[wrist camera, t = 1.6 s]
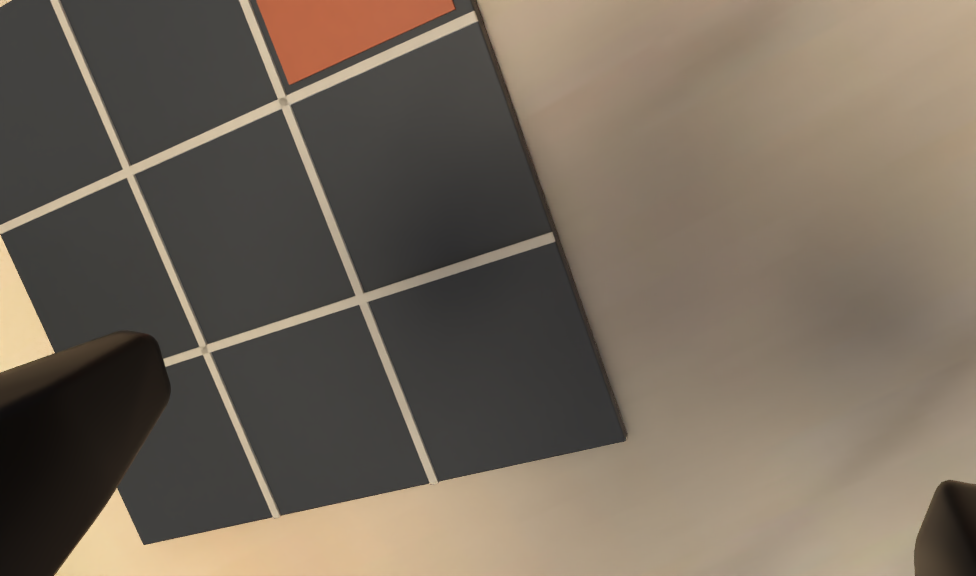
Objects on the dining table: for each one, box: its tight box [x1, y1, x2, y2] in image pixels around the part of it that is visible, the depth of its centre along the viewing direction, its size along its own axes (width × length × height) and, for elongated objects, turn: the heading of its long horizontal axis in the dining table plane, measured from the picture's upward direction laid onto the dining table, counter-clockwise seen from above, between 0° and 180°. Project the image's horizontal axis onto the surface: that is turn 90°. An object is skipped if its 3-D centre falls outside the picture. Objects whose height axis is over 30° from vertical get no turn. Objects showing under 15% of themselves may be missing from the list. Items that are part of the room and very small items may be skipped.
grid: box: [0, 0, 627, 545], centre depth 26 cm, size 20×20×1 cm
